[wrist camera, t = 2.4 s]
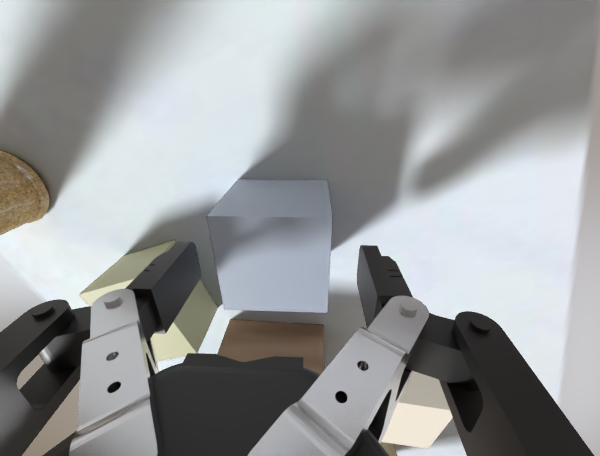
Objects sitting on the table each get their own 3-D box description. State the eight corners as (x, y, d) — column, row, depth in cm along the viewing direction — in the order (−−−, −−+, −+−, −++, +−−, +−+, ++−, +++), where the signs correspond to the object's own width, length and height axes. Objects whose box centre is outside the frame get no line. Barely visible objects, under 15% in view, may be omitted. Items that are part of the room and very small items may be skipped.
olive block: (125, 254, 18) (78, 294, 14) (176, 238, 17) (139, 277, 14) (172, 317, 20) (142, 364, 17) (218, 306, 20) (196, 353, 16)
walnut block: (230, 317, 20) (207, 381, 16) (323, 323, 20) (325, 389, 16) (238, 375, 23) (220, 442, 19) (318, 381, 23) (318, 449, 19)
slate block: (238, 178, 15) (206, 215, 11) (327, 179, 15) (332, 217, 10) (247, 253, 17) (224, 309, 13) (324, 254, 17) (327, 312, 13)
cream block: (384, 349, 21) (398, 402, 17) (433, 357, 21) (457, 411, 17) (366, 387, 23) (375, 441, 20) (411, 394, 23) (428, 448, 20)
